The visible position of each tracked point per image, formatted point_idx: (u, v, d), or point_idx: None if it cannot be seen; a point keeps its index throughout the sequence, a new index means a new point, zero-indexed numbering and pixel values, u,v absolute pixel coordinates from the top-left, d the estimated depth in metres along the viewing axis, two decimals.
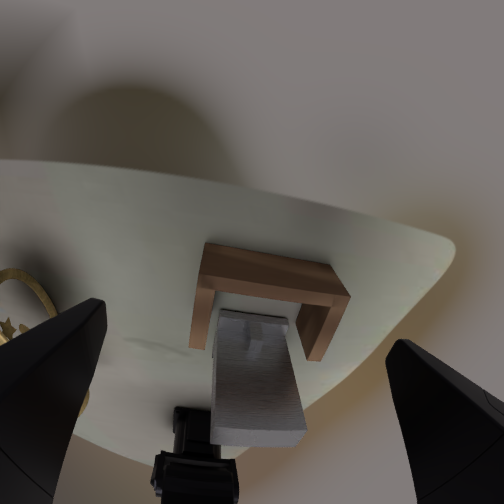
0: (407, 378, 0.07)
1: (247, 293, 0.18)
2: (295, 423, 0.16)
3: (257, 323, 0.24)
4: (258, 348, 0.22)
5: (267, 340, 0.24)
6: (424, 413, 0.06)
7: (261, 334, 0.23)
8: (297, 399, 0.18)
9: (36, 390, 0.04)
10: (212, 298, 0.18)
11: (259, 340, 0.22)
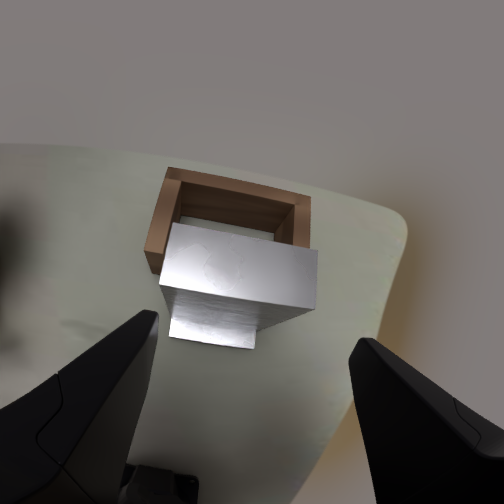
0: (368, 381, 0.07)
1: (211, 184, 0.19)
2: None
3: None
4: None
5: None
6: (385, 420, 0.06)
7: None
8: None
9: (109, 415, 0.04)
10: (177, 188, 0.18)
11: None
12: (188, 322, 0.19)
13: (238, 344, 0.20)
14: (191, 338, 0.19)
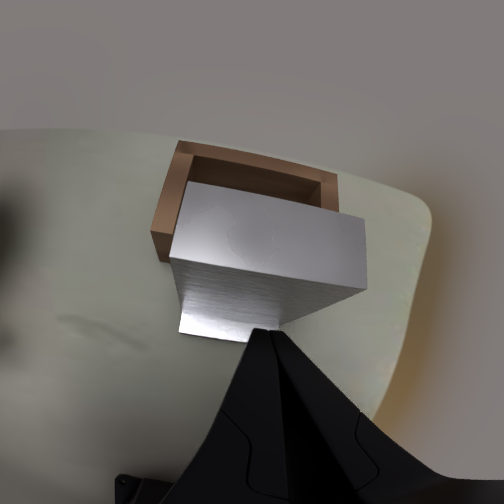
0: None
1: (227, 159, 0.17)
2: None
3: None
4: None
5: None
6: None
7: None
8: None
9: None
10: (189, 162, 0.16)
11: None
12: (201, 315, 0.17)
13: None
14: (205, 334, 0.17)
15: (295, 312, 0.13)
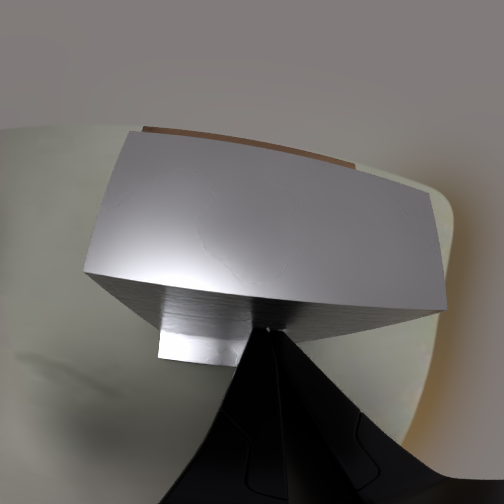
0: None
1: None
2: None
3: None
4: None
5: None
6: None
7: None
8: None
9: None
10: None
11: None
12: (185, 335, 0.13)
13: None
14: (191, 359, 0.12)
15: (314, 335, 0.09)
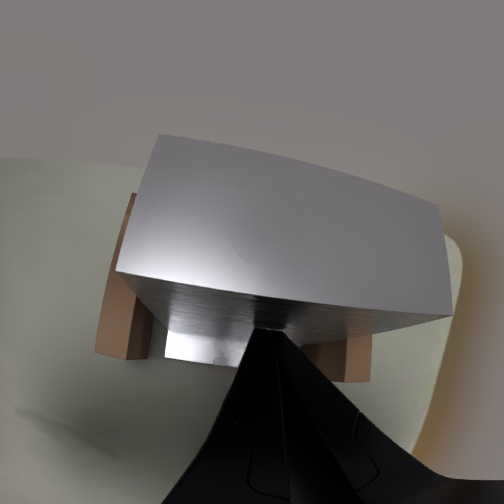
0: None
1: None
2: None
3: None
4: None
5: None
6: None
7: None
8: None
9: None
10: None
11: None
12: (192, 336, 0.13)
13: None
14: (198, 359, 0.13)
15: (322, 338, 0.09)
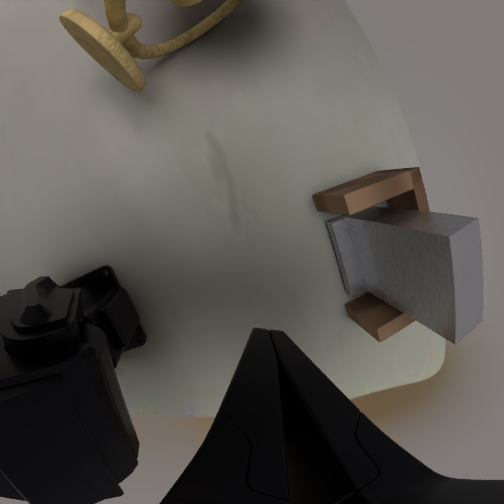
0: None
1: None
2: None
3: None
4: None
5: None
6: None
7: None
8: None
9: None
10: (407, 189, 0.16)
11: None
12: (350, 233, 0.20)
13: (351, 283, 0.21)
14: (339, 243, 0.20)
15: (402, 304, 0.16)
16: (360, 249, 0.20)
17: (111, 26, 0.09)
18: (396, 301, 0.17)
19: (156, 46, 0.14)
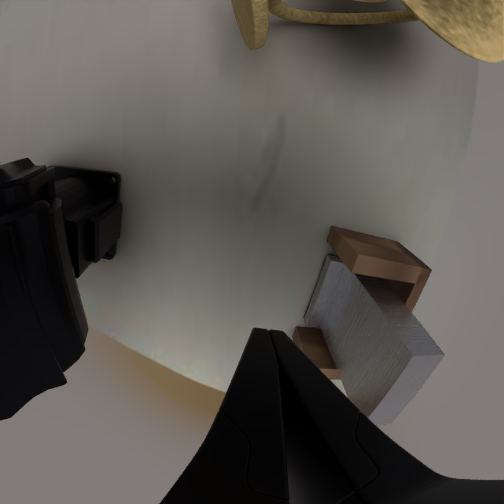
0: None
1: None
2: None
3: None
4: None
5: None
6: None
7: None
8: None
9: None
10: (409, 281, 0.17)
11: None
12: (340, 277, 0.21)
13: (312, 315, 0.22)
14: (325, 279, 0.21)
15: (341, 364, 0.18)
16: (338, 296, 0.21)
17: None
18: (338, 358, 0.19)
19: (292, 9, 0.12)
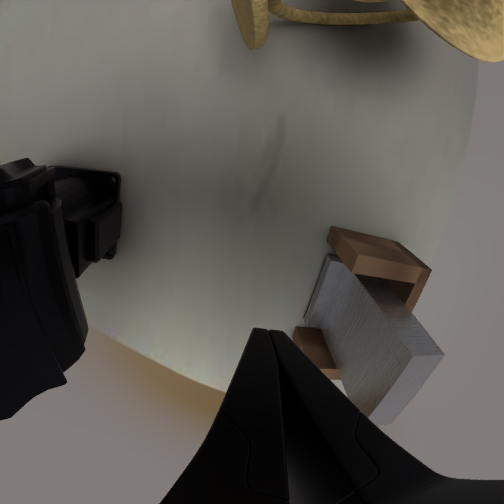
0: None
1: None
2: None
3: None
4: None
5: None
6: None
7: None
8: None
9: None
10: (409, 281, 0.17)
11: None
12: (340, 277, 0.21)
13: (312, 315, 0.22)
14: (325, 279, 0.21)
15: (341, 364, 0.18)
16: (338, 296, 0.21)
17: None
18: (338, 358, 0.19)
19: (292, 9, 0.12)
